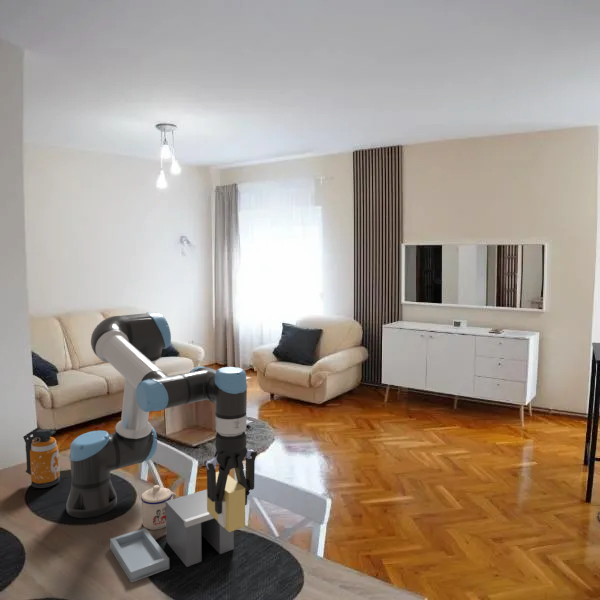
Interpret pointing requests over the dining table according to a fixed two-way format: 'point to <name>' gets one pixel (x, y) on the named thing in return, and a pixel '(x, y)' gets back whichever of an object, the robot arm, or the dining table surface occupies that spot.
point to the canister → (42, 458)
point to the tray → (139, 554)
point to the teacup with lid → (155, 507)
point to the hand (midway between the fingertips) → (231, 520)
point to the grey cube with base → (194, 528)
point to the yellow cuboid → (231, 505)
